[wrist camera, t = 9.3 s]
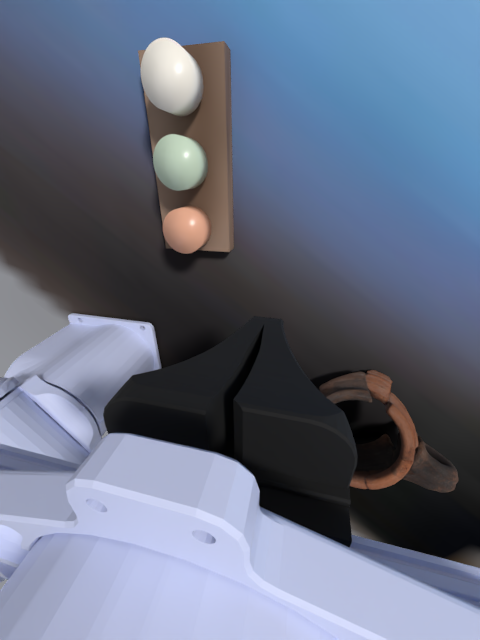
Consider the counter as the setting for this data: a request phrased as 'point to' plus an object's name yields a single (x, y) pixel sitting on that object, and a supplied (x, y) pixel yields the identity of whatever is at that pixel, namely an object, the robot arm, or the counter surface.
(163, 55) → the cream button
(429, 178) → the counter surface
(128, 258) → the counter surface
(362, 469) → the pottery mug
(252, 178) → the counter surface
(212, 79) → the button panel
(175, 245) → the terracotta button
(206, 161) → the sage button
